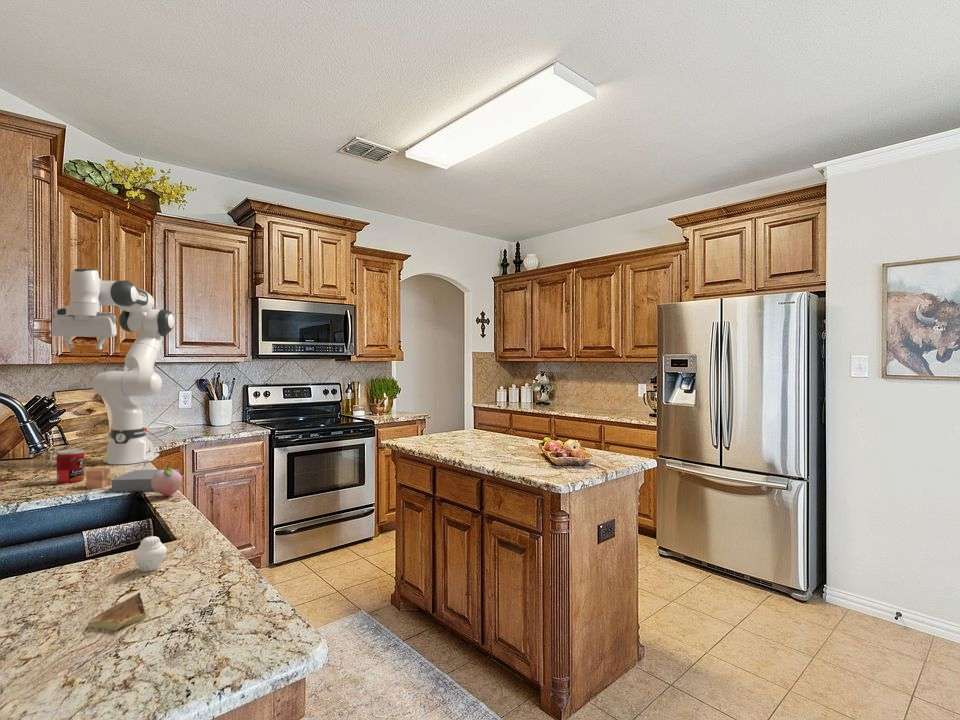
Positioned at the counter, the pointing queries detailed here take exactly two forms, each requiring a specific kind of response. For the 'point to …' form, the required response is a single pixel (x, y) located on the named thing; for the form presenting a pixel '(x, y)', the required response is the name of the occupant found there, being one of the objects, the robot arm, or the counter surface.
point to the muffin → (150, 554)
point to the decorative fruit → (166, 481)
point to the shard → (120, 614)
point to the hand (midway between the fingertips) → (84, 349)
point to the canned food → (70, 466)
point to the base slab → (135, 481)
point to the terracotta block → (98, 477)
